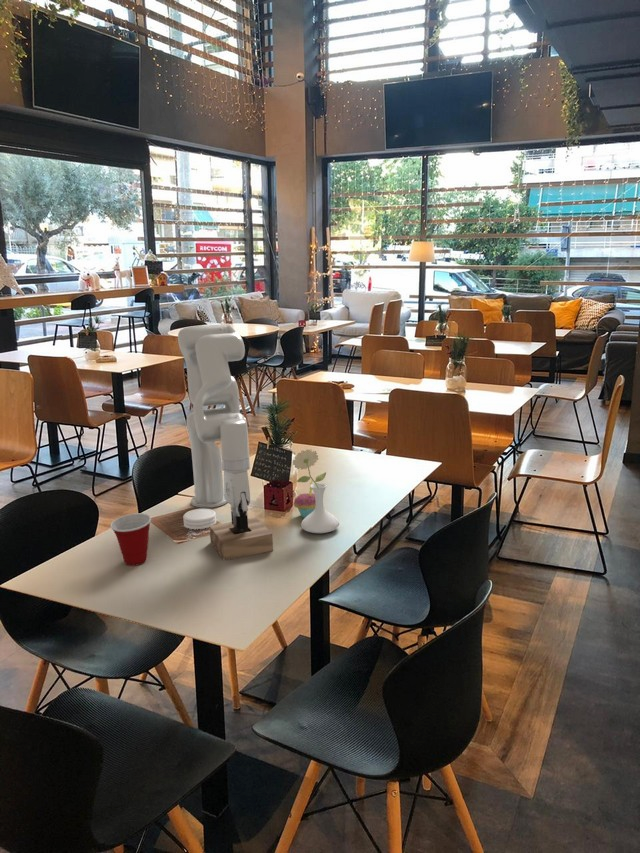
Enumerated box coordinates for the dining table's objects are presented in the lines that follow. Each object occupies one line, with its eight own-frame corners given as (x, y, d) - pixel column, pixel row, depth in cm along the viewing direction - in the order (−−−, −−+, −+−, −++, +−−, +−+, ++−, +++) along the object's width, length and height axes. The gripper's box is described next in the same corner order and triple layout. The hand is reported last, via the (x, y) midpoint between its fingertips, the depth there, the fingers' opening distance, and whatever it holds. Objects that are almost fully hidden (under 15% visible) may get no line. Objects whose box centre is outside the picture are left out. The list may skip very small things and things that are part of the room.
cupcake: (326, 513, 221) (325, 477, 218) (311, 522, 214) (310, 485, 211) (304, 509, 226) (303, 473, 223) (289, 517, 219) (287, 481, 216)
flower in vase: (338, 521, 214) (335, 442, 208) (340, 536, 203) (338, 453, 197) (295, 523, 214) (291, 444, 208) (295, 538, 203) (291, 455, 197)
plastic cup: (105, 564, 189) (101, 523, 186) (136, 550, 198) (132, 510, 195) (133, 573, 183) (128, 530, 180) (163, 558, 192) (159, 517, 189)
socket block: (210, 542, 202) (209, 526, 201) (256, 533, 207) (255, 517, 206) (224, 560, 189) (223, 543, 188) (273, 550, 195) (272, 533, 193)
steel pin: (232, 537, 199) (230, 497, 196) (244, 534, 200) (242, 495, 197) (236, 541, 195) (233, 501, 193) (248, 539, 197) (246, 498, 194)
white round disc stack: (199, 533, 210) (198, 522, 209) (177, 526, 216) (176, 515, 215) (223, 522, 217) (222, 512, 216) (201, 516, 223) (200, 505, 222)
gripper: (214, 458, 198) (218, 519, 203) (231, 473, 184) (235, 539, 188) (239, 454, 201) (243, 514, 206) (258, 469, 187) (262, 533, 191)
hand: (240, 525), depth 197 cm, fingers closed on steel pin, 3 cm apart
